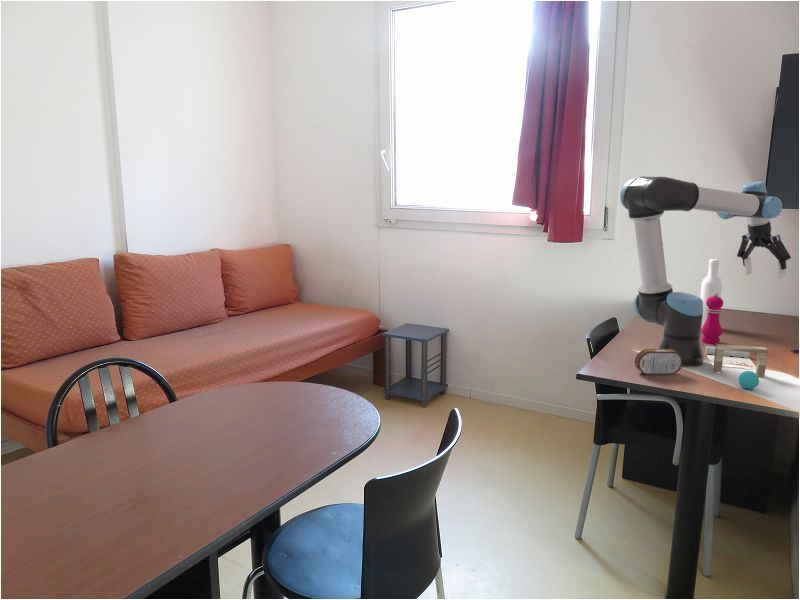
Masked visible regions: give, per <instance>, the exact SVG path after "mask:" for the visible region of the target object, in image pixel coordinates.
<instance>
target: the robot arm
mask: <svg viewBox="0 0 800 600" xmlns="http://www.w3.org/2000/svg"><path fill="white" fill-rule="evenodd" d="M619 197H620V203H621V205H622V207H624V208H625V209H626V210H627V211H628V218H629V219H630V220H632V222H633V223H634V231H635V239H636V248H637V255H638V263H639V272H640V280H641V285H640V286H639V287H638V288H637V291H638V292H637V293H636V295H635V296H636V297H635V298H634V300H633V308H634V312H635V313H636V315H637V316H638V317H639V318H640V319H642V320H644V321H646V322H648V323H653V324H657V325H659V326H662V327H663V337H662V340H661V342H660V344H659V346H658V348H657V349H673V350H675V351H676V352H677V353H679V354H680V355H681V357H682V360H683V363H682V367H698V366H701V365H703V363H704V353H703V350H702V345H701V333H702V332H701V331H702V329H701V325H702V317H703V301H702V299H701V298H700V297H699V296H697V295H695V294H691V293H687V292H681V291H680V292H679V291H675V292H674V289H673V285H672V284H671V283H670V282H668V278H667V268H666V261H665V252H664V251H665V250H664V242H663V235H662V225H661V217H662V216H663V215H664V213H665V212H670V211H671V212H672V211H673V212H674V211H677V212H691V211H692V210H696V211H697V210H698V211H703V212H705V211H706V212H713V213H716V214H717V216H718V217H719V218H720V219H722V220H729V219H733V218H735V217H739V218H740V217H741V218H746V224H747V231H748V232H747V233H745V234H744V235H742V236H741V243H740V246H739V249H738V252H737V253H736V257H738V258H741V259H742V265H743V267H744V268H745V275H746V276H749V275H751V274H753V267H752V266H753V265H752V260H751V259H752V258H751V257H750V255H751V253H752V252H753V251H754V250H755V248H756V247H757V248H759V247H760V248H765V249H767V250H768V251H769V252H770V253H771V254H772V255H773V256H774V257H775V258H776V260H778V261H777V262H776V264H777V273H778V279H780V280H781V279H783V278H785V277H786V276H787V275H786V269H787V261H788V260H790V259H791V258H792V257H791V254H790V253H789V251H788V250H787V248H786V246H785V245H784V243H783V242H782V239H781V236H780V234H776V235H772V234H771V233H772V225H771V219H775V218H777V217H778V216H779V215H780V214H781V213H782V210H783V203H782V200H781V199H780V198H779V197H776V196H772V195H769V196H768V190H767V186H766V183H765V182H764V181H761V180H760V181H753V182H746V183H745V184H744V185H742V191H741V192H738V191H731V190H724V189H723V190H722V189H715V188H710V187H702V186H698V184H696V183H695V182H689V181H685V180H681V179H678V178H677V179H676V178H673V177H668V176H644V175H643V176H637V177H633V178H631V179H629V180H627V182H626V183H625V184H624V185H623V186H622V187H621V191H620V196H619ZM749 241H751V242H750V244H749ZM748 244H749V245H748Z"/></svg>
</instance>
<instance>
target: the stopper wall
mask: <svg viewBox="0 0 800 600" xmlns="http://www.w3.org/2000/svg"><path fill="white" fill-rule="evenodd" d="M715 349H716V346H708V345H707V346H705V351H704V352H705V355H708V354H712V355H714V356H715ZM750 353H751V352H743V351H732V350H724V353H723V356H725V357H730V356H733V357H736V358H741V357H744V358H747V359H750Z"/></svg>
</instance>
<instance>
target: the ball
mask: <svg viewBox="0 0 800 600" xmlns="http://www.w3.org/2000/svg"><path fill="white" fill-rule="evenodd" d="M737 379H738V380H737V381H738V384H739V385H740V387H742V388H744V389H746V390H753V389H755V388H757V387H758V386H759V383H760V377H758V376H757V374H756V372H754V371H753V370H746V371H742V372H741V373H740V374H739V376H738V378H737Z"/></svg>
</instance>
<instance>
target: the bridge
mask: <svg viewBox="0 0 800 600" xmlns="http://www.w3.org/2000/svg"><path fill="white" fill-rule="evenodd" d="M715 347H716V349H715V355H714V356H715V358H714V366H712V367H713V369H712V371H713V370H714V371H713V372H721V373H722V368H723V367H722V362H723V353H724V350H732V351H743V352H750V353H757V359H756V365H755V366H756V370H755V373H756V374H757V376H758V377H759V378H763V377H764V378H765V376H766V367H767V360H768V359H767V358H768V354H769V353H768V352H769V349H768V348H767V347H761V346H760V347H759V346H747V345H736V344H724V343H719V344H715Z"/></svg>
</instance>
